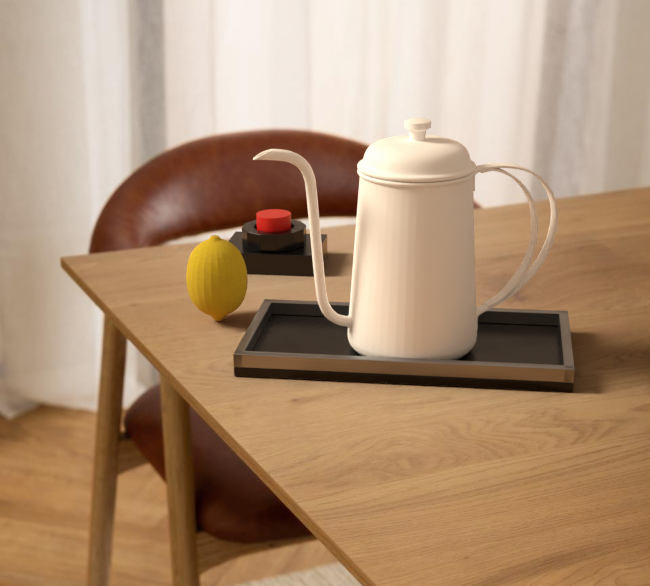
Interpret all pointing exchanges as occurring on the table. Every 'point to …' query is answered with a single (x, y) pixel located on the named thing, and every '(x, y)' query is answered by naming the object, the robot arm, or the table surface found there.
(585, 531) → the table surface
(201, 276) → the lemon
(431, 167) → the coffeepot
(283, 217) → the button
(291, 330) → the drip pan
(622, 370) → the table surface
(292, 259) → the button box
